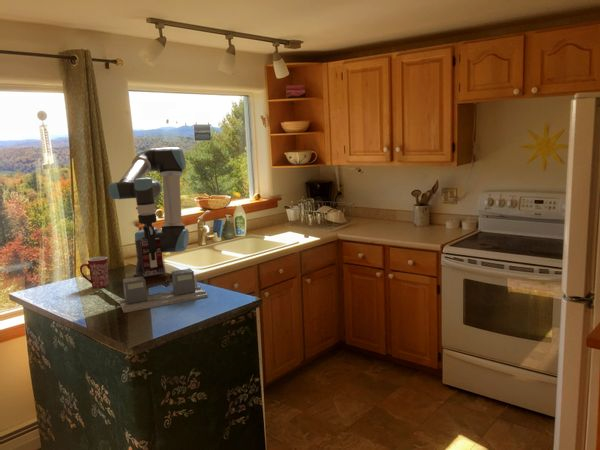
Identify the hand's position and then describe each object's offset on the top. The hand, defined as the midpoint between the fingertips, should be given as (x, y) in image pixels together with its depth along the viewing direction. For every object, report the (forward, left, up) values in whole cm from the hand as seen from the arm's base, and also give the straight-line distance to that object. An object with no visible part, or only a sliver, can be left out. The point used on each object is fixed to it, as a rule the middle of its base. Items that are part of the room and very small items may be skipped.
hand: (152, 265), depth 222 cm
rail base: (+14, +1, -13) cm, 19 cm away
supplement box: (0, 0, -4) cm, 4 cm away
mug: (-30, -22, -13) cm, 39 cm away
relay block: (+2, +15, -13) cm, 20 cm away
